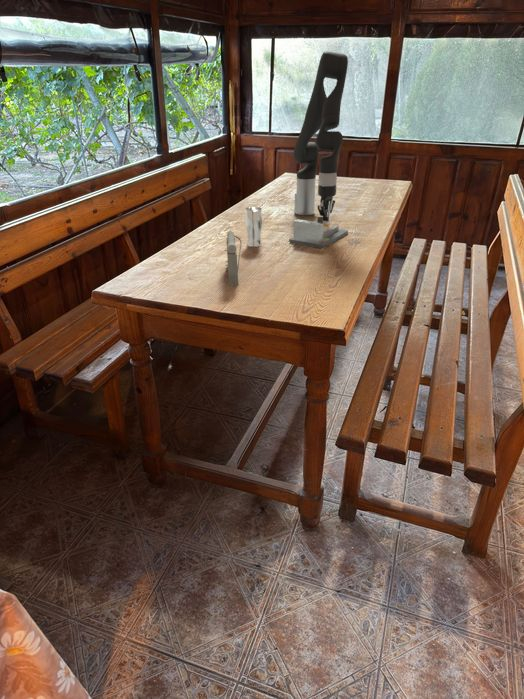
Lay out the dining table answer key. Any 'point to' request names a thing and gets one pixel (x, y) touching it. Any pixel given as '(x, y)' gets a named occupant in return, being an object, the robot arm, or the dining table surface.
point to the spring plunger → (320, 219)
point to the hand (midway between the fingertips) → (325, 224)
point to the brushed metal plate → (308, 231)
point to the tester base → (325, 237)
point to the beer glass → (253, 225)
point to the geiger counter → (232, 258)
